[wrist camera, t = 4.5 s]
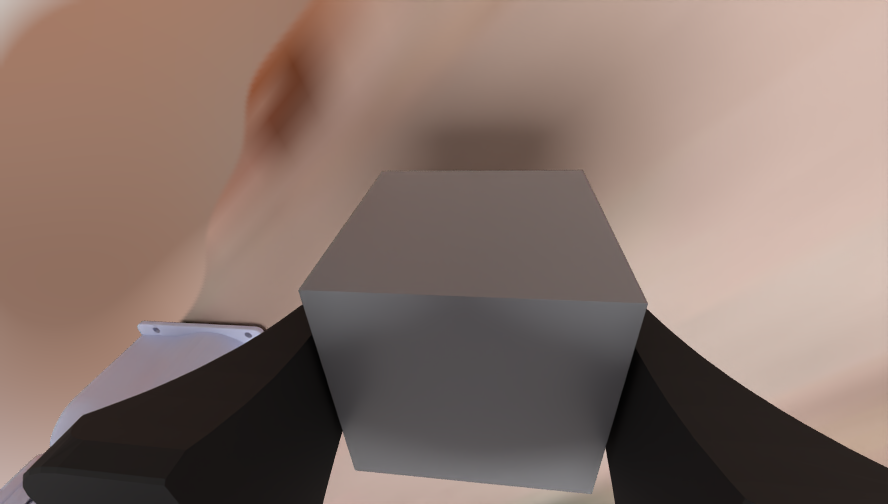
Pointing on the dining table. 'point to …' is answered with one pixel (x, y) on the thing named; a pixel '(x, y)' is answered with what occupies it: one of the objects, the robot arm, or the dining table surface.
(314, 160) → the dining table surface
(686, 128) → the dining table surface
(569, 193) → the grey cube
